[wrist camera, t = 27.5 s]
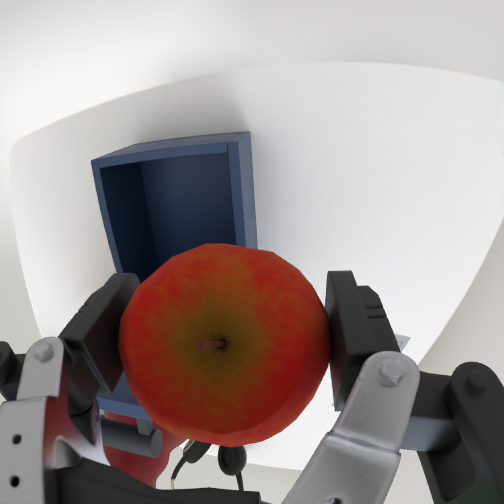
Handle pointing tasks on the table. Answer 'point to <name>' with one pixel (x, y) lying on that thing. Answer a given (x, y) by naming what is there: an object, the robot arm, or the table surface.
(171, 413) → the apple
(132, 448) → the lid
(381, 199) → the table surface
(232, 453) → the headphones
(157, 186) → the box
